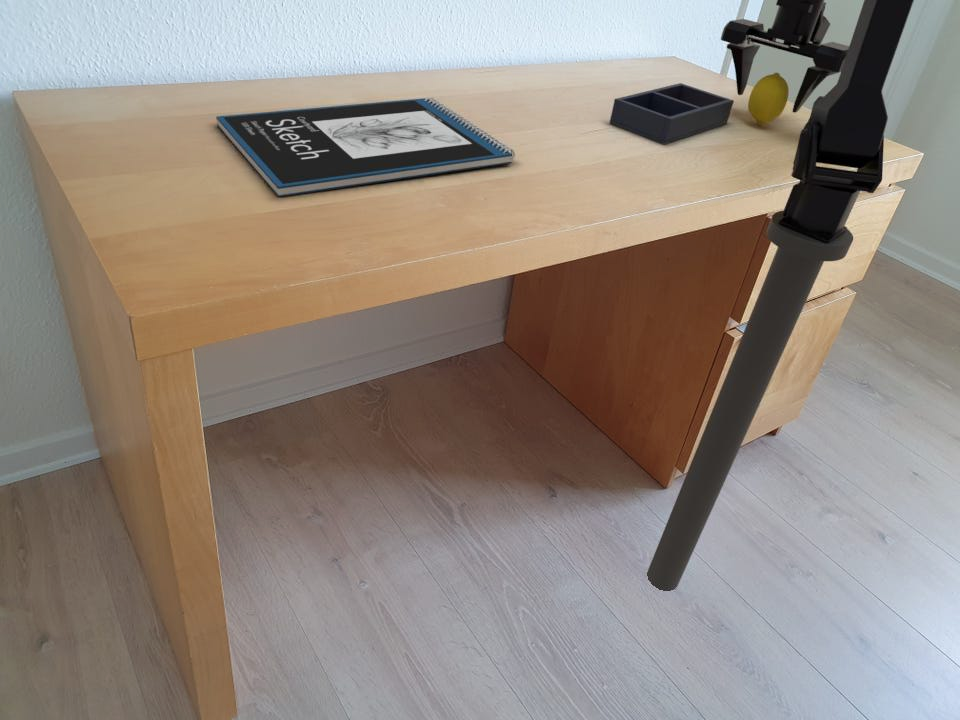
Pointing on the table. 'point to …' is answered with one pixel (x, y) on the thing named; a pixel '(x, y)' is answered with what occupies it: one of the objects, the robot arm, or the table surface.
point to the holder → (670, 112)
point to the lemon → (768, 98)
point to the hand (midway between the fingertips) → (766, 103)
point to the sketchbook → (359, 144)
